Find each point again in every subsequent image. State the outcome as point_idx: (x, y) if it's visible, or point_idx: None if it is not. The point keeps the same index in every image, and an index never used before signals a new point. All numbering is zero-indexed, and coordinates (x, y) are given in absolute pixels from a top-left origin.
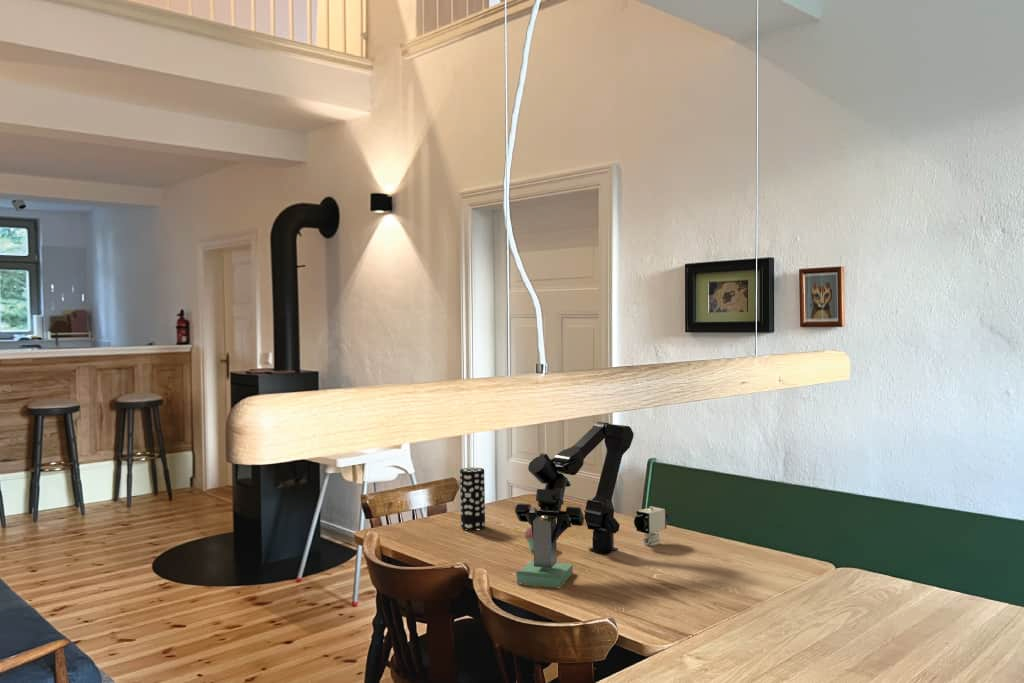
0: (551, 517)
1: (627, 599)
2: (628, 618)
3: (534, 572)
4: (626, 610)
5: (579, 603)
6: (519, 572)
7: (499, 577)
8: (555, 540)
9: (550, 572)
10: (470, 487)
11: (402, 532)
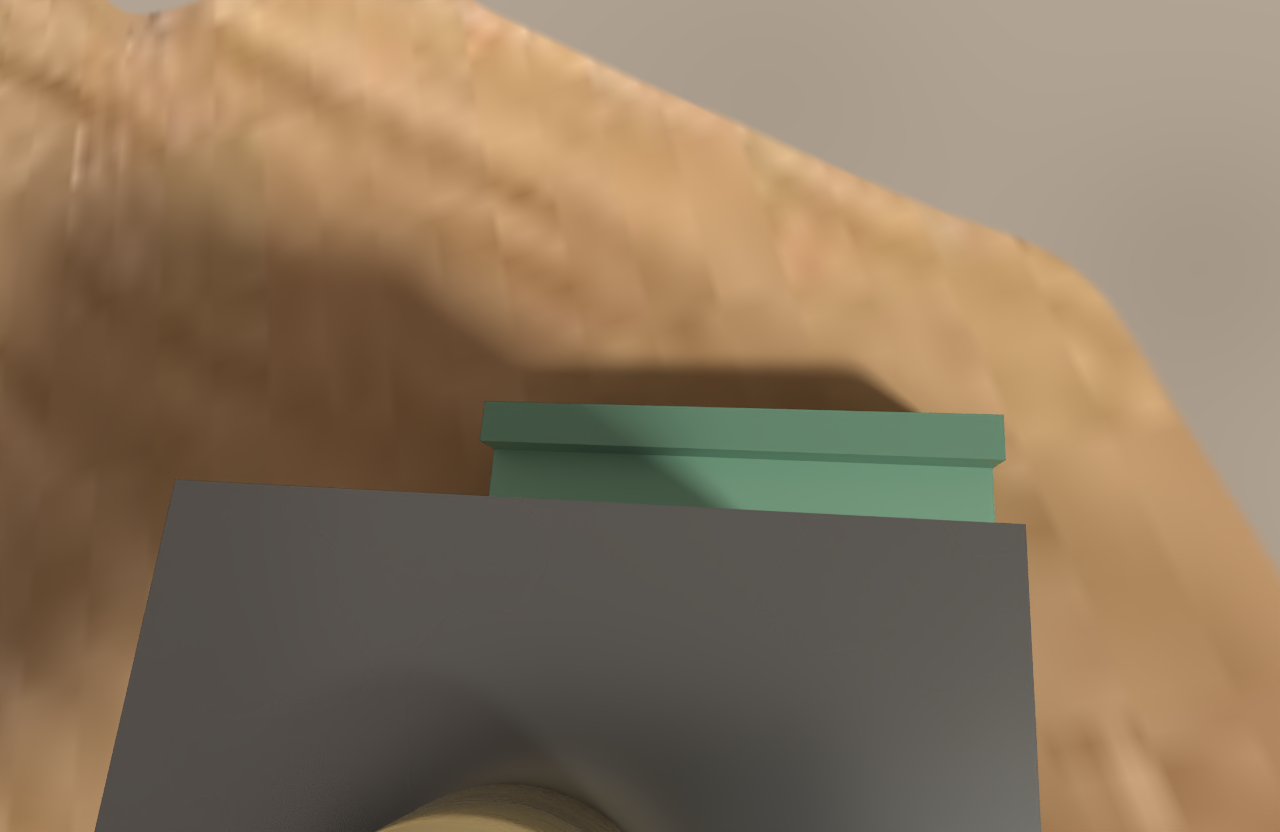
0: None
1: (34, 334)
2: (62, 38)
3: (773, 415)
4: (60, 146)
5: (346, 166)
6: (961, 415)
7: (1258, 616)
8: None
9: None
10: None
11: None
